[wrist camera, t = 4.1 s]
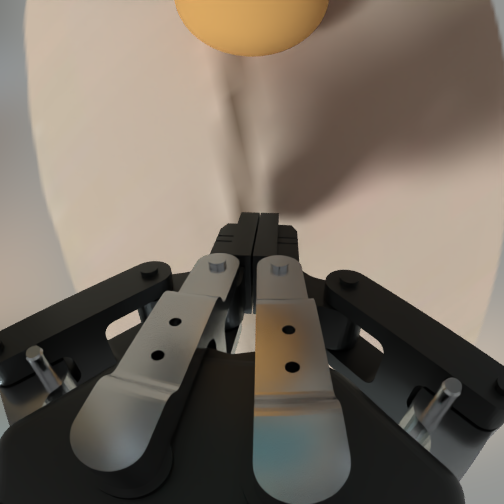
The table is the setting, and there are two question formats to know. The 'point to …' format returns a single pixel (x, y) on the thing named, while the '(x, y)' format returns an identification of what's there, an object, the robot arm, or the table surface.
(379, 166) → the table surface
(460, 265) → the table surface
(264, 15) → the ball
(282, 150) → the table surface
